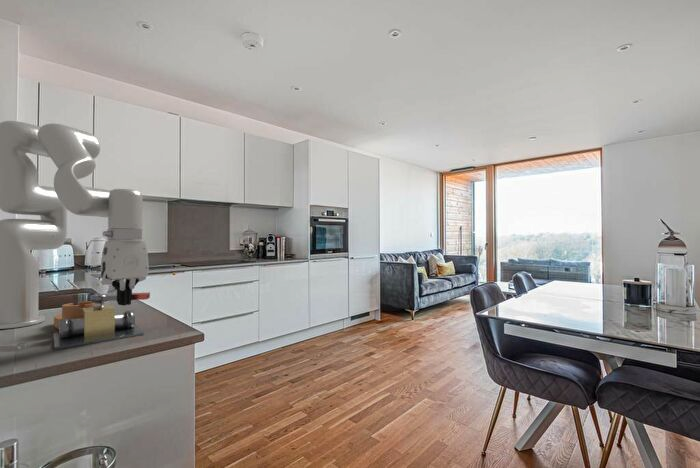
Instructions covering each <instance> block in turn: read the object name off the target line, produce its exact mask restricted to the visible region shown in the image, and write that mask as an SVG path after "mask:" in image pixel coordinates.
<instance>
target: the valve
mask: <svg viewBox="0 0 700 468" xmlns="http://www.w3.org/2000/svg"><path fill="white" fill-rule="evenodd" d="M144 332H145V331H143V330H142V329H141V328H140V327H139V326H138V325H137V324H136V315H135V312H134V310H133V309H129V310H125V311H124V312H117V313H116V308H115V307H114V306H113V305H112V304H109V305H105V301H98V302H93V307H89V308H83V318H77V319H69V318H64V319H60V321H59V329H58V332H53V344H54V345H53V347H54V351H55V350H56V351H57V350H62V349H67V348H73V347H80V346H85V345H92V344H97V343H98V344H99V343H104V342H108V341H114V340H119V339H120V340H121V339H127V338H133V337H138V336H139V337H140V336H144V335H145V334H144Z"/></svg>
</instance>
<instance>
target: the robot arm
mask: <svg viewBox="0 0 700 468" xmlns="http://www.w3.org/2000/svg"><path fill="white" fill-rule="evenodd" d="M100 152H101V146H100V141H99V139H98V138H96V136H94V134H92V133H90V132H87V131H85V130H81V129H78V128H75V127H71V126H68V125H64V124H60V123H46V124H44V125H41V126H38V125H35V124H31V123H28V122H23V121H17V120H4V121H2V122H0V210H1V211H2V212H5V213H6V214H7V213H8V214H12V215H24V216H39V217H40V219H31V218H30V219H28V218H4V219H1V220H0V330H4V329H5V330H6V329H15V328H21V327H28V326H32V325H37V324H40V323H42V322H44V321H45V320H46V317H45V315H39V291H40V290H39V286H40V285H39V282H40V281H39V279H40V278H39V276H40V274H39V273H40V269H39V267H40V265H39V262H38V260H37V258H36V257H35V256H34V255H33V254H32V252H31V251H39V250H41V251H42V250H44V251H46V250H47V251H48V250H55V249H59V248H61V247H62V246H63V245H65V242H66V240H67V233H68V232H67V229H68V226H67V223H68V222H67V221H68V218H67V216H68V215H67V214H68V212H67V211H69V212H70V213H72V214H74V215H77V216H83V217H97V218H98V217H101V218H107V219H108V221H107V225H108V226H107V230H103V231H102V236H103V237H106V238H107V240H105V242H104V245H103V249H102V253H101V262H100V276H101V281H100V283H101V284H102V285H106V286H111V287H113V289H114V290H116V295H117V300H116V302H117V305H119V306H129V305H131V304H132V301H133V300H132V293H133V290H134V289H135V287H136V285H137V284H138V283H139V282H140V283H141V282H142V281H146V279H147V276H148V275H149V270H150V268H149V266H150V264H149V254H148V247H147V242H146V240H142V239H143V193H141V191H139V190H136V189H129V188H127V189H126V188H114V189H112V190H111V189H104V188H97V187H90V186H84V185H82V184H81V182H80V181H79V180H81V179H84V178H86V177H88V176H90V175H91V174H92V173H94V171H95V169H96V166H97V165H96V161H95V159H96V158H97V157H98V156H99V155H100ZM27 154H33V155H36V156H41V157H46V158H50V159H51V160H52V162H53V163H54V164H55V166H56V168H57V171H55V173H54V174H55V175H54V178H53V187H52V186H47V185H39V183H38V176H39V175H38V170H37V167H36V165H35V164H34V162H33V160H32V159H31V158H30V157H29V156H28V155H27Z"/></svg>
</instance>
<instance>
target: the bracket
mask: <svg viewBox="0 0 700 468" xmlns="http://www.w3.org/2000/svg"><path fill="white" fill-rule="evenodd" d="M89 307H93V302H91V301H90V300H89V301H87V300H86V301H78V302H77V304H75V305H74V302H70V303H65V304H62V305H61V313H59V314H57V315H53V327H54V328H56V329H58V330H59V321H60V319H64V318H69V319H77V318H83V308H89Z"/></svg>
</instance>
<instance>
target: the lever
mask: <svg viewBox="0 0 700 468" xmlns="http://www.w3.org/2000/svg"><path fill="white" fill-rule="evenodd" d="M150 294H151V292H132V300H131V301H137V300H139V301H141V300H145V301H146V300H148V299H150V296H151V295H150ZM89 296H90V299H89V301H91V302H98V301H104V302H107V301H117V294H107V293H97V294H91V295H89Z"/></svg>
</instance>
